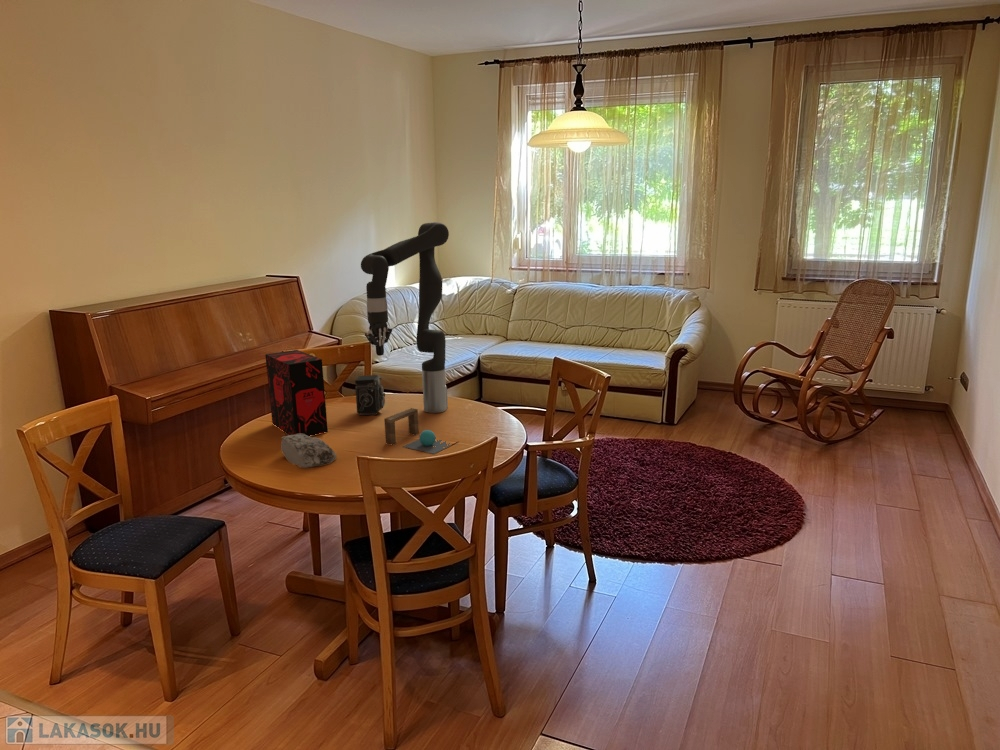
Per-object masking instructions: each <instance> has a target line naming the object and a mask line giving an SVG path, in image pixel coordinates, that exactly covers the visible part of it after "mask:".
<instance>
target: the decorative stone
mask: <svg viewBox="0 0 1000 750" xmlns="http://www.w3.org/2000/svg"><path fill="white" fill-rule="evenodd" d="M280 449H281V452H282V454H283V455H284V457H285V459H286V460H287V461H288V463H290V462H291V463H290V464H292V465H294V466H298V467H300V468H302V469H307V468H314V467H321V466H326V465H330V464H332V463H333V462H334V461H335V460H336V459H337V454H336V452H335V451H334V450H333V449H332V448H331V447H330V445H329V444H327V443H326V442H325V441H324V440H322V439H321V438H319V437H314V436H310V437H309V436H307V435H306V434H294V435H288V434H287V435H284V436H282V437H281V442H280Z"/></svg>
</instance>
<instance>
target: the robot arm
mask: <svg viewBox="0 0 1000 750" xmlns="http://www.w3.org/2000/svg"><path fill="white" fill-rule="evenodd" d="M449 232H450V231H449V228H448V226H446V224H444V223H442V222H438V221H437V222H425V223H423V224H421V225H420V227H419V229H418V232H417V235H416V236H413V237H410V238H406V239H404V240H403V239H402V240H400V241H398V242H396V243H394V244H391V245H390V246H388V247H386V248H384V249H381V250H378V251H374V252H372V253H369V254H367V255H365V256H364V257H362V259H361V262H360V269H361V270H362V271H363V272H364V273H365V274H367V275H372V277H371V281H368V282H367V283H366V291H365V292H366V314H367V315H366V316H367V323H368V324H369V326H368V331H367V332H365V333H364V337H365V338H366V339H367V340H368V342H369V343H370V344H371V346H375V354H376V355H377V356H379V357H380V356H384V354H385V351H384V350H385V349H384V348H385V347H384V346H385V344H387V343H388V342H389V339H390V337H391V335H392V331H393V329H392V328H391V327H389V326H388V322H389V311H388V301H387V300H388V299H387V290H386V285H387V281H388V276H389V270H390V269H389V267H393V266H396V265H398V264H401V263H403V262H404V261H405V260H408V259H409V258H411V257H413V256H415V255H418V258H419V282H418V319H417V329H416V341H415V342H416V348H417V350H418V351H419V352H420V353H429V354H430V353H431V354H433V356H432V358H431V359H428V360H424V361H423V362H421V377H422V393H423V395H422V396H423V397H422V399H423V411H424V412H426V413H428V414H429V413H430V414H431V413H432V414H436V413H443V412H445V411H446V410H447V409H448V408H449V405H448V404H449V403H448V386H447V385H446V368H445V367H446V342H447V341H446V335H445V332H443V330H441V329H430V328H429V327H430V322H431V317H432V315H433V313H434V312H435V310H436V308H437V307H438V305H439V304H440V302H441V300H442V297H443V277H442V275H441V273H440V269H439V268H438V265H437V263H436V259H435V248H436V247H440V246H443V245H444V244H446V242H447V241H448V239H449V235H450V234H449Z"/></svg>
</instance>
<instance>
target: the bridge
mask: <svg viewBox="0 0 1000 750" xmlns="http://www.w3.org/2000/svg"><path fill="white" fill-rule="evenodd" d="M405 418H408V422H407V423H408V434H409V433H410V435H413V434H414V436H417V435H419V434H418V433H420V430H419V429H420V428H419V409H417V408H413V407H410V408H408V409H405V410H403V411H401V412H398V413H395V414H393V415H390V416H387V417H384V435H385V436H384V437H385V438H384V439H385V444H386V443H387V444H386V445H389V444H392V445H391V446H394V445H396V444H397V438H396V437H397V436H396V422H397V421H400V420H403V419H405ZM416 434H417V435H416ZM395 443H396V444H395ZM393 444H394V445H393Z"/></svg>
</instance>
